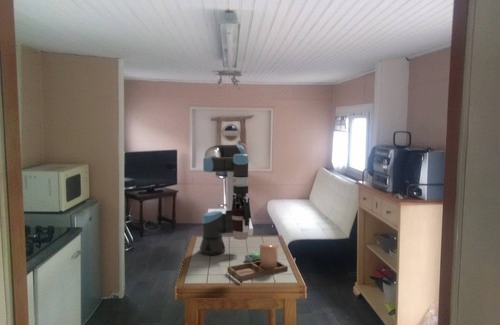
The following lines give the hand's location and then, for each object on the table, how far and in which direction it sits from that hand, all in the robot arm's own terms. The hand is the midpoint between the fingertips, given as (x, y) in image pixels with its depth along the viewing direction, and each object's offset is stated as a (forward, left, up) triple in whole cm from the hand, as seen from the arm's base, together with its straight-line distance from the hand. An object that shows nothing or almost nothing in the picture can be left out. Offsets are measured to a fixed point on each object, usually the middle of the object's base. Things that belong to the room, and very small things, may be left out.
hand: (240, 229), depth 192 cm
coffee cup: (0, 0, -4) cm, 4 cm away
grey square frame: (-9, +14, -23) cm, 28 cm away
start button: (-9, +14, -20) cm, 26 cm away
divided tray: (+3, +8, -23) cm, 24 cm away
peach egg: (+3, +15, -21) cm, 26 cm away
